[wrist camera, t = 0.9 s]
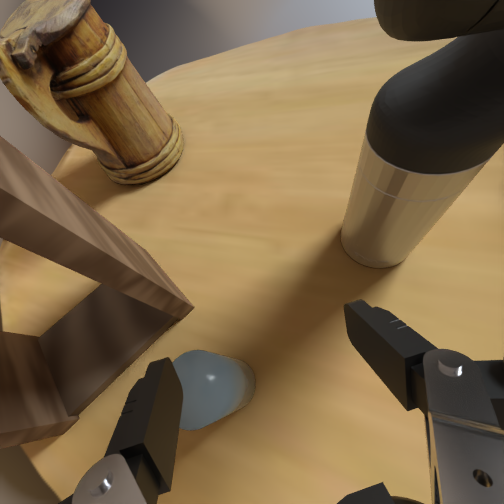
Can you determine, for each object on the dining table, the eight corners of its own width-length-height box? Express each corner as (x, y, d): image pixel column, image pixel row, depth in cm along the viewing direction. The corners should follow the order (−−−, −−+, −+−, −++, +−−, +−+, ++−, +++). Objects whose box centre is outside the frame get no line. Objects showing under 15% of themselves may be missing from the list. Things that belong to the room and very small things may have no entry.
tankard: (189, 118, 56) (115, -47, 34) (177, 200, 45) (57, 35, 23) (119, 133, 59) (9, -11, 37) (91, 212, 48) (-86, 77, 26)
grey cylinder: (224, 351, 32) (184, 338, 21) (262, 371, 30) (239, 369, 19) (203, 395, 30) (147, 405, 19) (242, 420, 28) (204, 447, 17)
